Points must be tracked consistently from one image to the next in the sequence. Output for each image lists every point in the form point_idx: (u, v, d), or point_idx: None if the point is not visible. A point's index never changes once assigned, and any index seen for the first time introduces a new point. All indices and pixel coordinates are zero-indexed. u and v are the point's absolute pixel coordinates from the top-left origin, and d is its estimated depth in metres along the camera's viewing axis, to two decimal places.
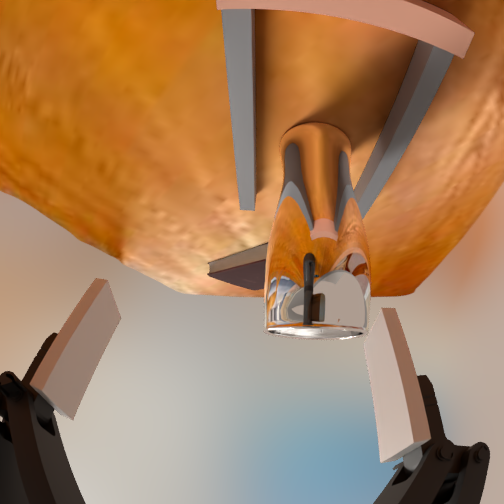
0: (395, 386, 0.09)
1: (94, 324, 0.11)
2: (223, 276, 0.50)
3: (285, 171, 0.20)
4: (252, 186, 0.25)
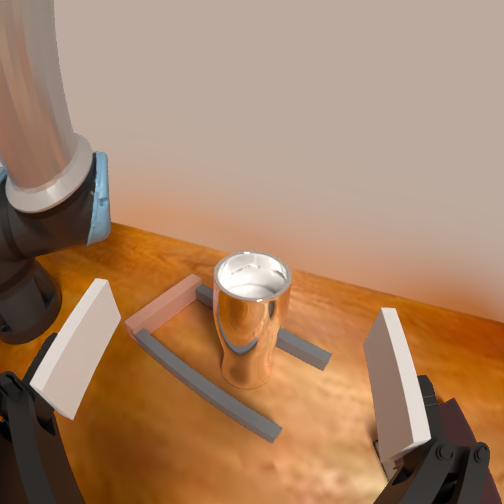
0: (395, 386, 0.09)
1: (94, 324, 0.11)
2: None
3: (228, 362, 0.29)
4: (246, 407, 0.26)
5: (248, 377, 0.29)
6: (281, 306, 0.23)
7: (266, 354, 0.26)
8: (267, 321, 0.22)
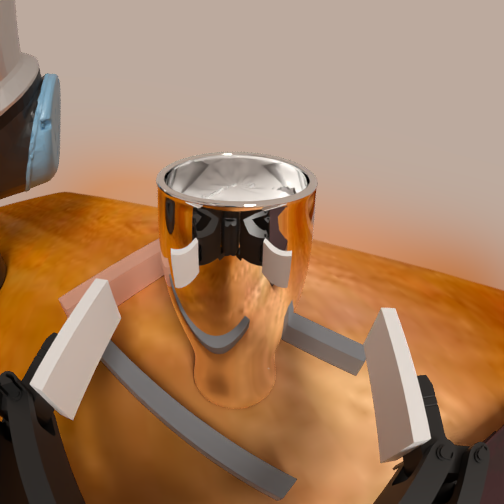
0: (395, 386, 0.09)
1: (94, 324, 0.11)
2: None
3: (200, 365, 0.16)
4: (232, 444, 0.13)
5: (236, 390, 0.16)
6: (299, 234, 0.10)
7: (267, 349, 0.14)
8: (269, 268, 0.10)
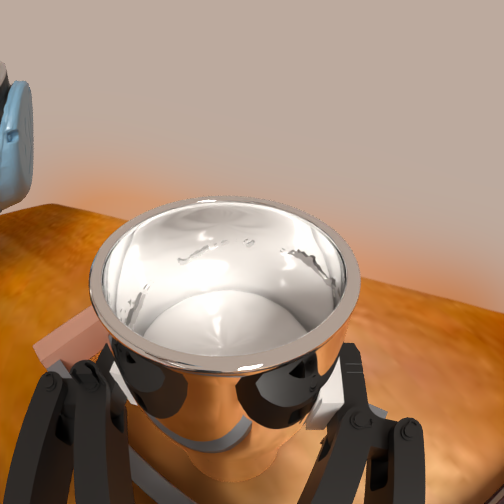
0: None
1: None
2: None
3: None
4: None
5: (232, 472, 0.12)
6: (326, 369, 0.06)
7: None
8: (275, 421, 0.05)
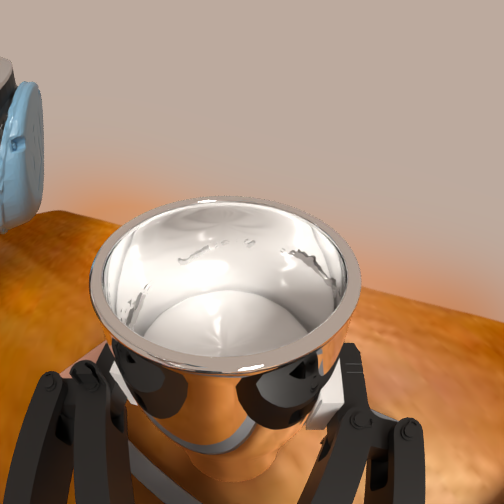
0: None
1: None
2: None
3: None
4: None
5: (232, 472, 0.12)
6: (327, 369, 0.06)
7: None
8: (275, 421, 0.05)
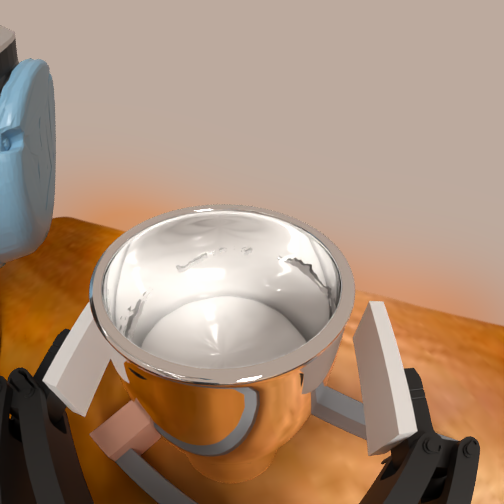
0: (382, 378, 0.09)
1: None
2: None
3: None
4: None
5: (231, 474, 0.12)
6: (320, 378, 0.06)
7: None
8: (270, 427, 0.06)
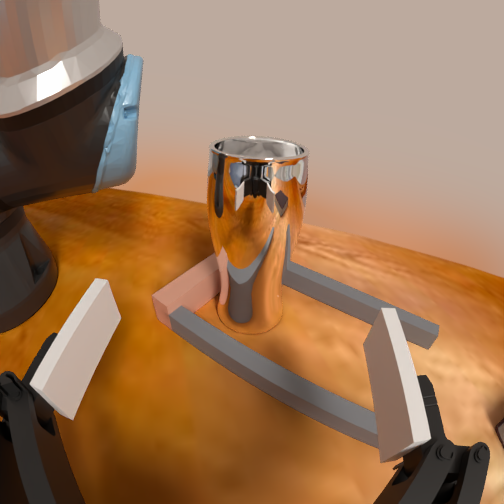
0: (395, 386, 0.09)
1: (94, 324, 0.11)
2: None
3: (225, 292, 0.23)
4: (364, 410, 0.15)
5: (253, 313, 0.22)
6: (298, 180, 0.17)
7: (278, 269, 0.20)
8: (280, 198, 0.16)
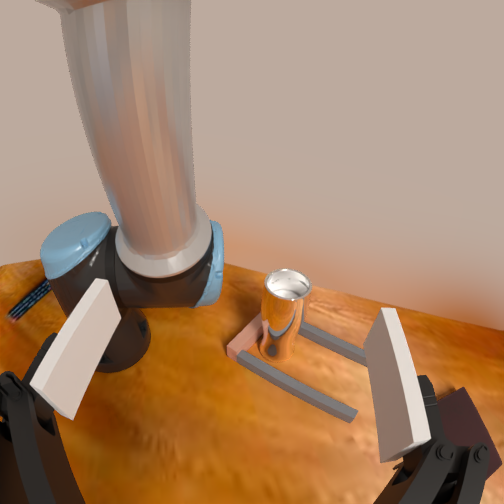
0: (395, 386, 0.09)
1: (94, 324, 0.11)
2: None
3: (266, 343, 0.43)
4: (333, 399, 0.36)
5: (280, 353, 0.43)
6: (306, 303, 0.37)
7: (294, 335, 0.41)
8: (298, 312, 0.37)
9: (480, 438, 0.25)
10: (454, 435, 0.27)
